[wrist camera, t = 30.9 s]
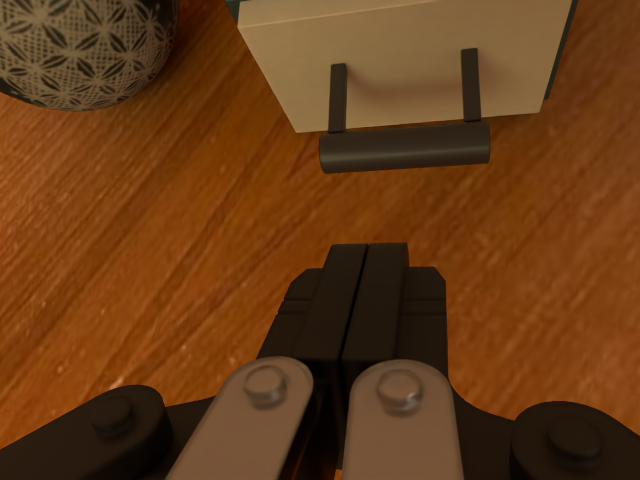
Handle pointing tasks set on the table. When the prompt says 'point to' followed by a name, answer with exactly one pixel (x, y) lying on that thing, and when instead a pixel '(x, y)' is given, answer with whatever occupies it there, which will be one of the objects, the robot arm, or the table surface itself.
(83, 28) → the decorative egg
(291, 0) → the drawer
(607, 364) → the table surface
